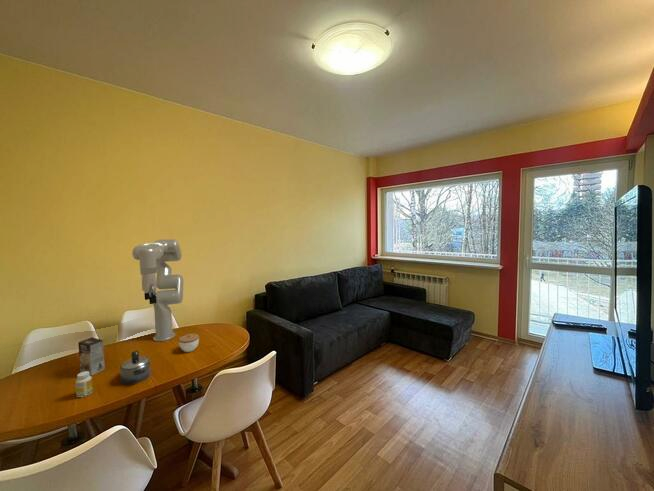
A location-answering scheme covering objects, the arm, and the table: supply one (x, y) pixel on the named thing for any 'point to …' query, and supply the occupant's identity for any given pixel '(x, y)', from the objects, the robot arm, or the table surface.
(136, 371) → the pot
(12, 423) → the table surface
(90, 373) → the coffee box
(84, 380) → the supplement bottle
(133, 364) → the lid
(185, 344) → the lidded jar
